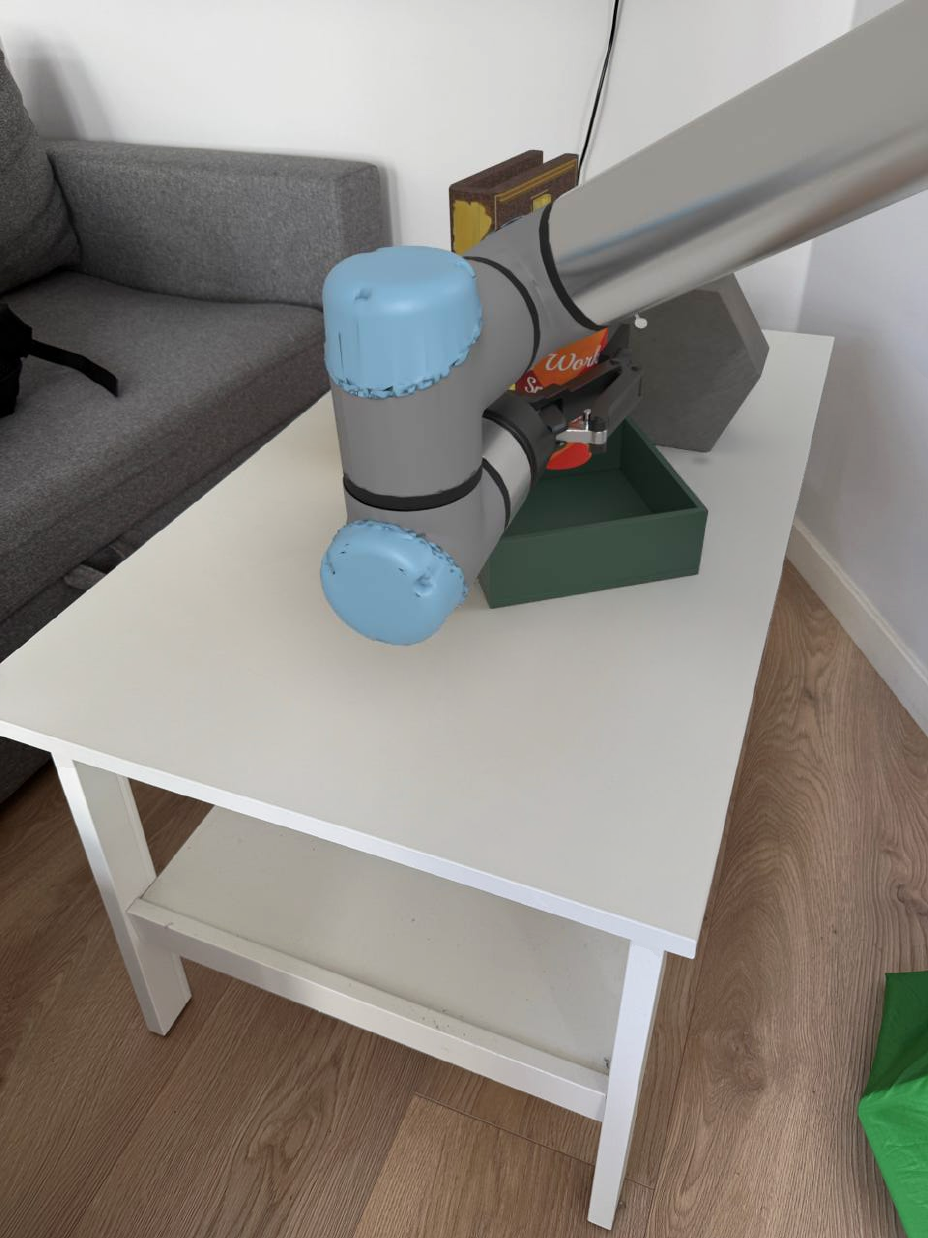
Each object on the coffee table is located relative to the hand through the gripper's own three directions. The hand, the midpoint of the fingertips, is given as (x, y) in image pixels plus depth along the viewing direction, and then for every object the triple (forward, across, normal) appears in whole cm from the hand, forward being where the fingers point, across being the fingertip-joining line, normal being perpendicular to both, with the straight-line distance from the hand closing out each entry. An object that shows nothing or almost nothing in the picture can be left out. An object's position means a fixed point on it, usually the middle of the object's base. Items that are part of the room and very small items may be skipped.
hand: (577, 334), depth 76 cm
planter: (+24, +4, -20) cm, 32 cm away
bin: (0, -1, -20) cm, 20 cm away
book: (+31, -16, -20) cm, 40 cm away
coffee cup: (-5, 0, -8) cm, 10 cm away
